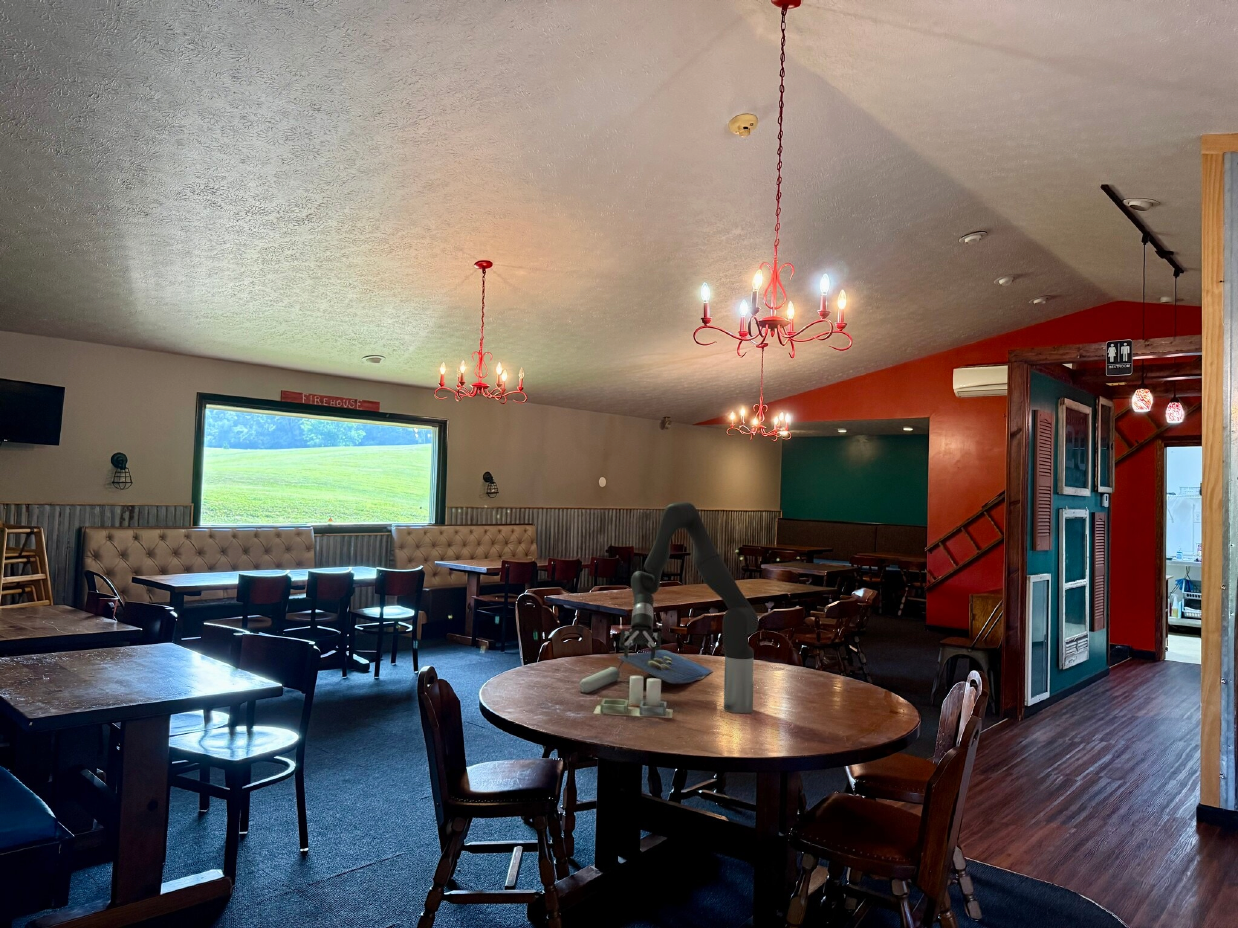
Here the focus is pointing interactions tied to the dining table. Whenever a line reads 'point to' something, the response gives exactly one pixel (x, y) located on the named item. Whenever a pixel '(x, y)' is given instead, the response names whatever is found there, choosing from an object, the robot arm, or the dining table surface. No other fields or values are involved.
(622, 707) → the board
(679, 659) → the serving platter
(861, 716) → the dining table surface
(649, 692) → the seated sleeve
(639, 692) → the white peg
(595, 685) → the tube
